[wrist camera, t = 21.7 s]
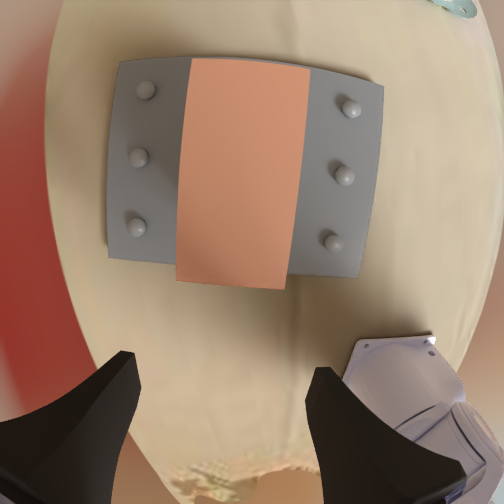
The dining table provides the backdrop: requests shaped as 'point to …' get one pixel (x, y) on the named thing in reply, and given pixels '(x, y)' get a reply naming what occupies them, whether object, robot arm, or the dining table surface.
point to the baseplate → (311, 177)
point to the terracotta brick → (240, 172)
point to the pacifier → (452, 3)
